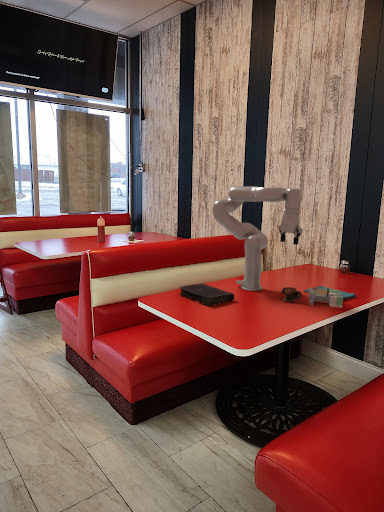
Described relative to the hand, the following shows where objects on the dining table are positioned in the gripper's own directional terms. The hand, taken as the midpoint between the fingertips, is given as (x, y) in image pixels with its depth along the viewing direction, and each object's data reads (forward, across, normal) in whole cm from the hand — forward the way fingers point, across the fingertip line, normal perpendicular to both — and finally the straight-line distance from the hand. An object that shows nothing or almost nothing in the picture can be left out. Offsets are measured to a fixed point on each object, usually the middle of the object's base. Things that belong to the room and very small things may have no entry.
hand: (289, 243), depth 210 cm
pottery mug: (+30, +10, -6) cm, 32 cm away
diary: (+30, -14, -44) cm, 55 cm away
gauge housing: (+29, +25, +11) cm, 40 cm away
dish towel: (+30, +11, +24) cm, 40 cm away
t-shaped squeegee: (+29, +20, +6) cm, 36 cm away
